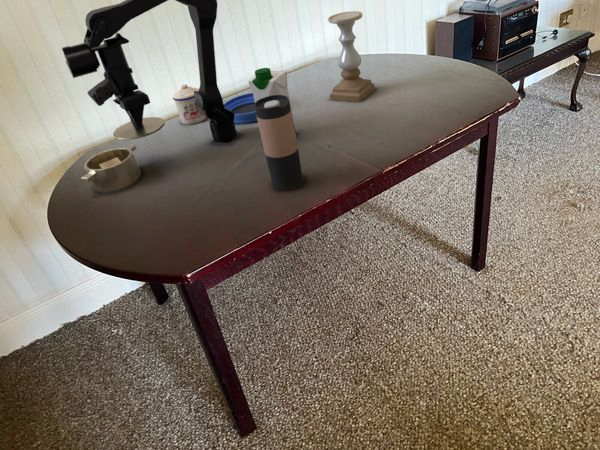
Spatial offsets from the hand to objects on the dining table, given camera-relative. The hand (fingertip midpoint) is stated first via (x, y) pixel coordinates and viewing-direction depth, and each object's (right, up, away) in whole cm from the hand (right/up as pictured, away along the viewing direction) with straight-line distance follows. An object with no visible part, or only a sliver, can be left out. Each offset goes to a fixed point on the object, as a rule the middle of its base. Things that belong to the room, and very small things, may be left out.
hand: (138, 125), depth 122 cm
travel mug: (+40, -16, -12) cm, 44 cm away
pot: (-6, -14, +3) cm, 16 cm away
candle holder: (+60, +16, +28) cm, 68 cm away
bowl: (+27, +10, +29) cm, 41 cm away
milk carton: (+37, -2, +9) cm, 38 cm away
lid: (0, -1, 0) cm, 1 cm away
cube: (-6, -14, +3) cm, 16 cm away
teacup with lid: (+9, +10, +33) cm, 35 cm away
